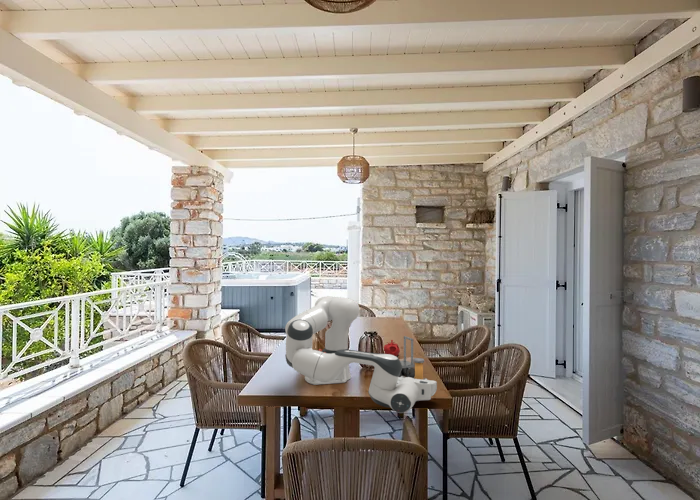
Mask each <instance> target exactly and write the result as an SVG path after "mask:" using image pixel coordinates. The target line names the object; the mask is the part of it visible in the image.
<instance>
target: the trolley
mask: <svg viewBox="0 0 700 500" xmlns="http://www.w3.org/2000/svg"><path fill="white" fill-rule="evenodd" d="M407 340H409V341H410V357H411V363H410V362H408V361H406V358H407ZM413 357H414V338H411V337H409V336H406V335H404V336H403V359H404V361H400V362H401V364H402V370H401V373H400V376H399V377H401V376H405V377H411V378H414V379H415V369H414V368H412V367H414V364H413Z"/></svg>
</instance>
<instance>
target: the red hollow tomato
mask: <svg viewBox="0 0 700 500" xmlns="http://www.w3.org/2000/svg"><path fill="white" fill-rule="evenodd" d="M390 341H391V342H389V341H388V342H386V343H385V344H384V346H383V348H384V351H385V354H390V355H394V356H396V357H398V356H399V354H400V352H401V349H400V347H399V345H398V343H396V342H395V341H394V340H393V339H391V340H390Z"/></svg>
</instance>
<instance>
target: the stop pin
mask: <svg viewBox="0 0 700 500" xmlns="http://www.w3.org/2000/svg"><path fill="white" fill-rule="evenodd" d="M414 362H415V377H414V379H424V363H425V359H424V358H421V357H414Z"/></svg>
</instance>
